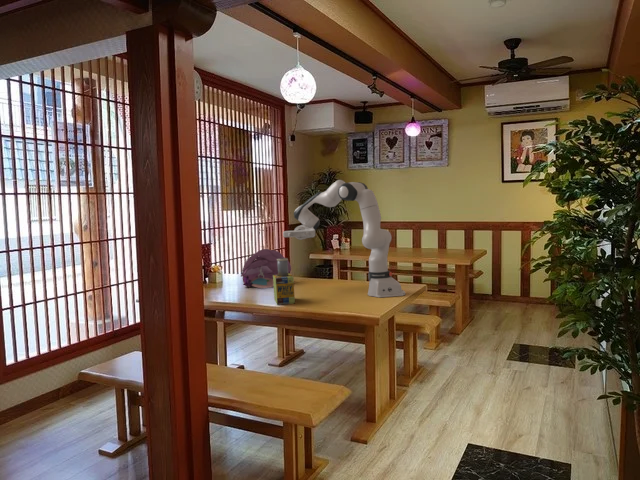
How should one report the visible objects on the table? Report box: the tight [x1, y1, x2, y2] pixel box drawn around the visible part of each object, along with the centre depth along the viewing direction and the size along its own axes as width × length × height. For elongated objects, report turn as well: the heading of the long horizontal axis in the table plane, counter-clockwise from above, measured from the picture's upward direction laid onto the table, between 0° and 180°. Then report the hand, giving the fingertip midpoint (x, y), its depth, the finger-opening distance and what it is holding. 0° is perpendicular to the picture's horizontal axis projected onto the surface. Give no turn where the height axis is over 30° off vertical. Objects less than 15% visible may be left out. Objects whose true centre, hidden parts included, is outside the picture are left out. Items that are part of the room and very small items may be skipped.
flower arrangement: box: [240, 248, 292, 289], centre depth 348 cm, size 35×24×28 cm
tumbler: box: [277, 257, 289, 277], centre depth 290 cm, size 6×6×10 cm
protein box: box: [273, 273, 296, 306], centre depth 291 cm, size 10×15×16 cm
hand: (297, 234), depth 304 cm, fingers open, 8 cm apart
